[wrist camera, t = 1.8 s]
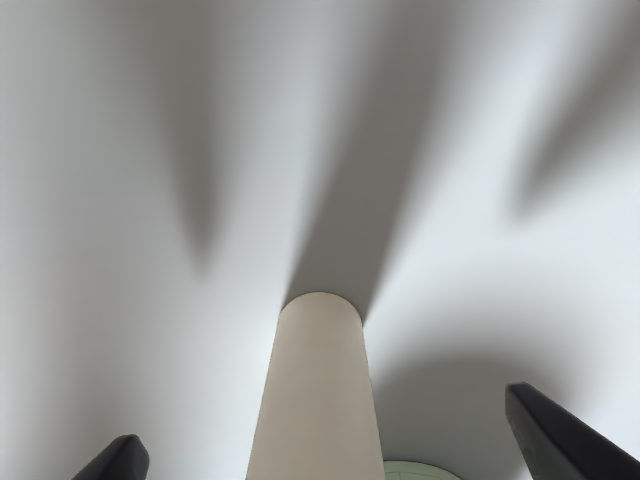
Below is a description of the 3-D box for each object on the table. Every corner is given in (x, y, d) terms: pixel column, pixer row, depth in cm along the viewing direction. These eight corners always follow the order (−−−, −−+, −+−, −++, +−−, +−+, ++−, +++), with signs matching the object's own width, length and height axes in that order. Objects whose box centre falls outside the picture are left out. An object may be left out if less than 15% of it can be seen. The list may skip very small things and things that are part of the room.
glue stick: (370, 354, 12) (440, 766, 5) (286, 367, 12) (230, 774, 5) (357, 281, 11) (421, 674, 4) (264, 296, 11) (148, 690, 4)
